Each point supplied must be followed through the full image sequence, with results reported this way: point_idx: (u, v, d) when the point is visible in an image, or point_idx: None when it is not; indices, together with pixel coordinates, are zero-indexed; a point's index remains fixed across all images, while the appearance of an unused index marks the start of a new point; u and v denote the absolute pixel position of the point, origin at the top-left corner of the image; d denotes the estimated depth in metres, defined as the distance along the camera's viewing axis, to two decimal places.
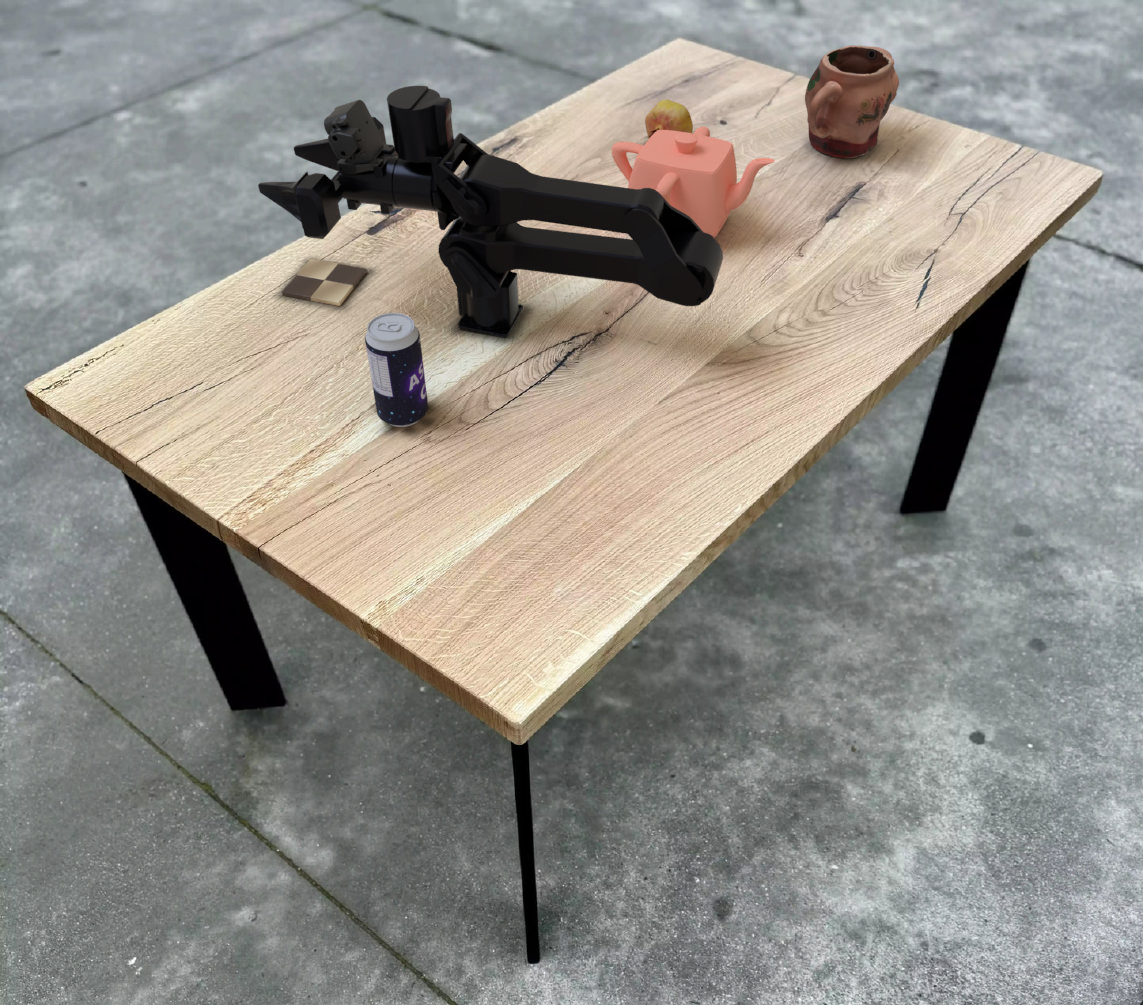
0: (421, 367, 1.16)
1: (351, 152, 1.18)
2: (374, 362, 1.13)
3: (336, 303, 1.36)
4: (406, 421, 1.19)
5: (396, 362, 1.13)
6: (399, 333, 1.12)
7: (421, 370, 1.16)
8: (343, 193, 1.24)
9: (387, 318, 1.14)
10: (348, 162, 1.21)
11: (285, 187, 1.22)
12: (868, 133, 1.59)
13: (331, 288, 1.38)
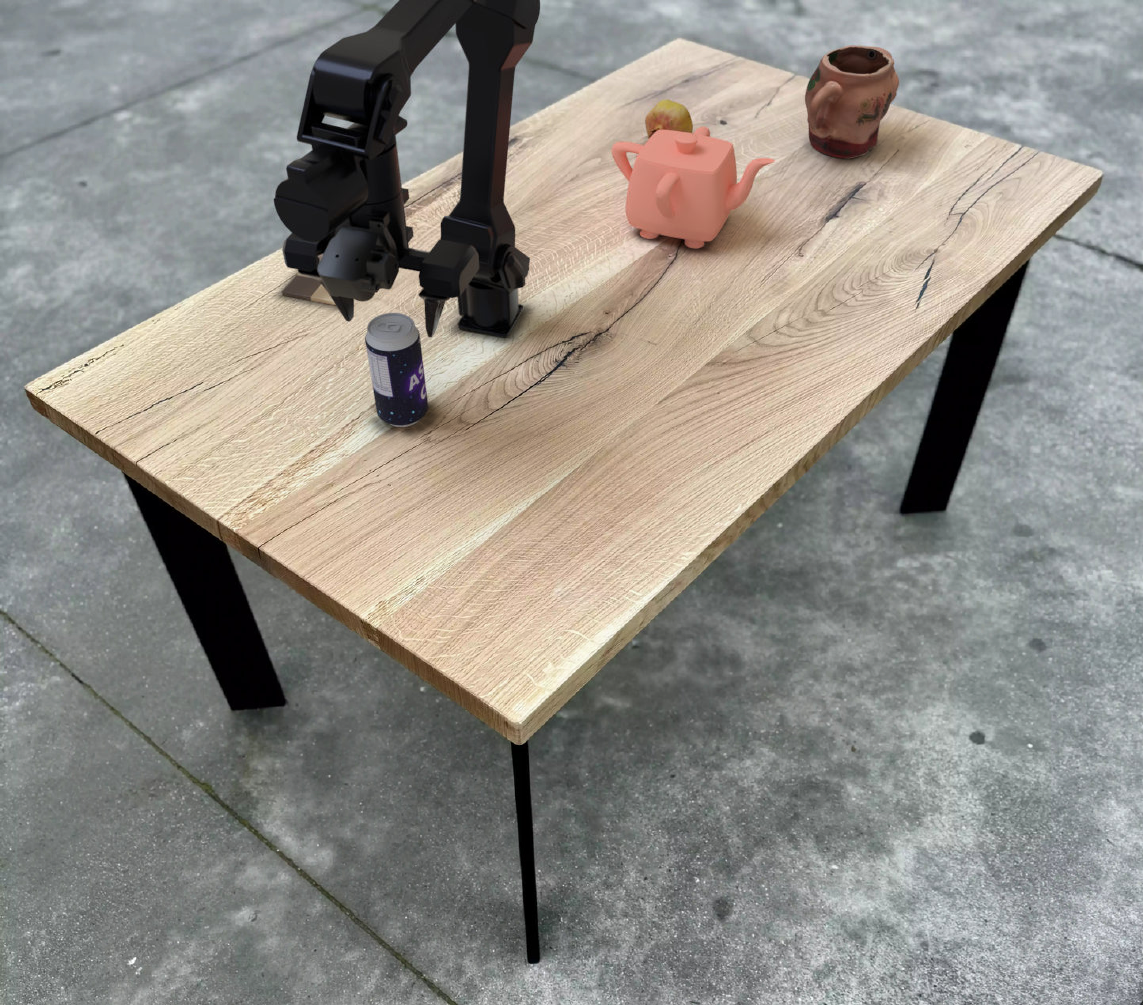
0: (421, 367, 1.16)
1: (393, 257, 1.00)
2: (374, 362, 1.13)
3: None
4: (406, 421, 1.19)
5: (396, 362, 1.13)
6: (399, 333, 1.12)
7: (421, 370, 1.16)
8: (408, 248, 1.06)
9: (387, 318, 1.14)
10: None
11: (436, 309, 1.08)
12: (868, 133, 1.59)
13: None
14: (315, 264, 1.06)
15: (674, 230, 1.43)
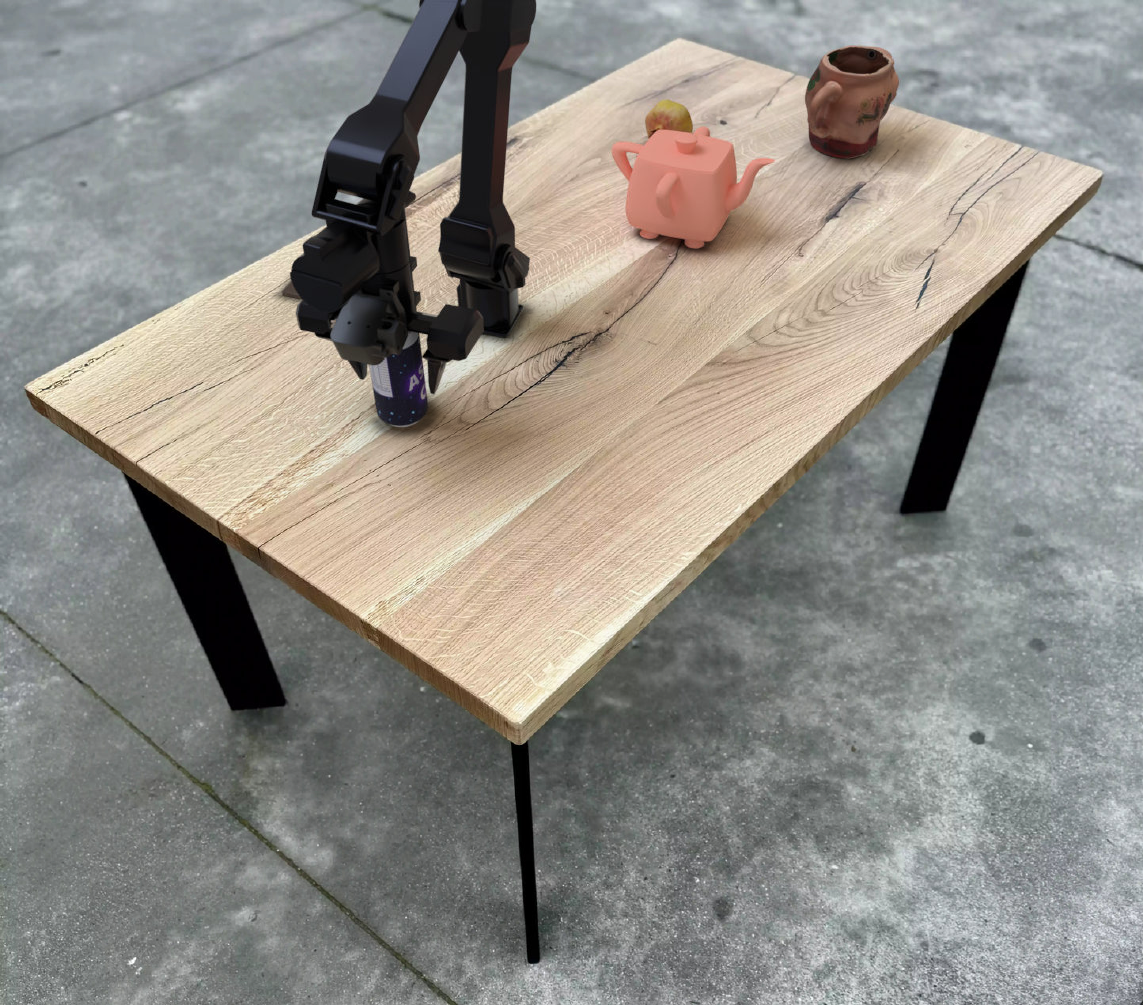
0: (421, 367, 1.16)
1: (402, 324, 1.05)
2: None
3: None
4: (406, 421, 1.19)
5: (396, 362, 1.13)
6: None
7: (421, 370, 1.16)
8: (416, 312, 1.11)
9: None
10: None
11: (438, 369, 1.13)
12: (868, 133, 1.59)
13: None
14: (327, 327, 1.11)
15: (674, 230, 1.43)
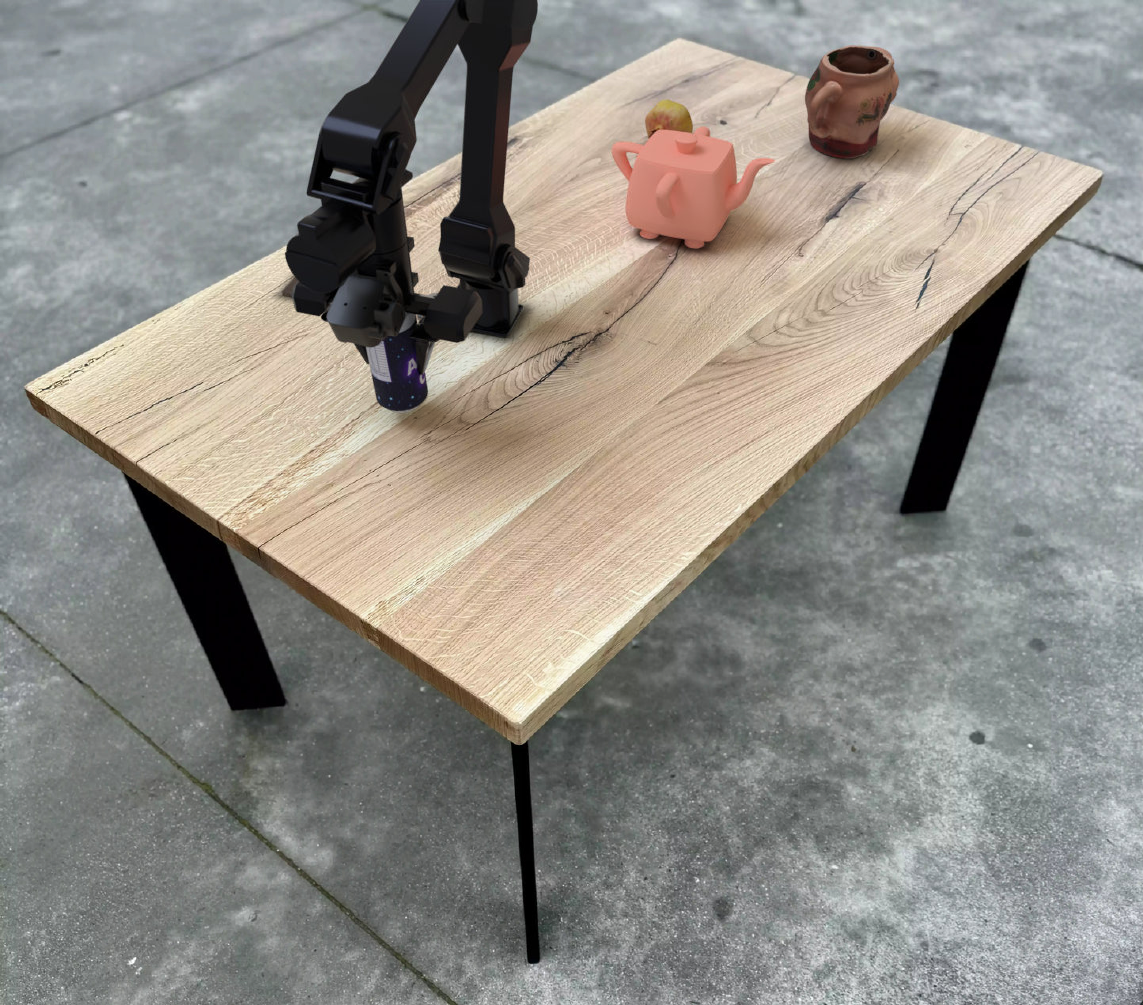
0: None
1: (400, 306, 1.04)
2: (371, 347, 1.12)
3: None
4: (406, 406, 1.17)
5: (394, 346, 1.11)
6: None
7: None
8: (413, 293, 1.10)
9: None
10: None
11: (426, 349, 1.12)
12: (868, 133, 1.59)
13: None
14: (324, 309, 1.10)
15: (674, 230, 1.43)
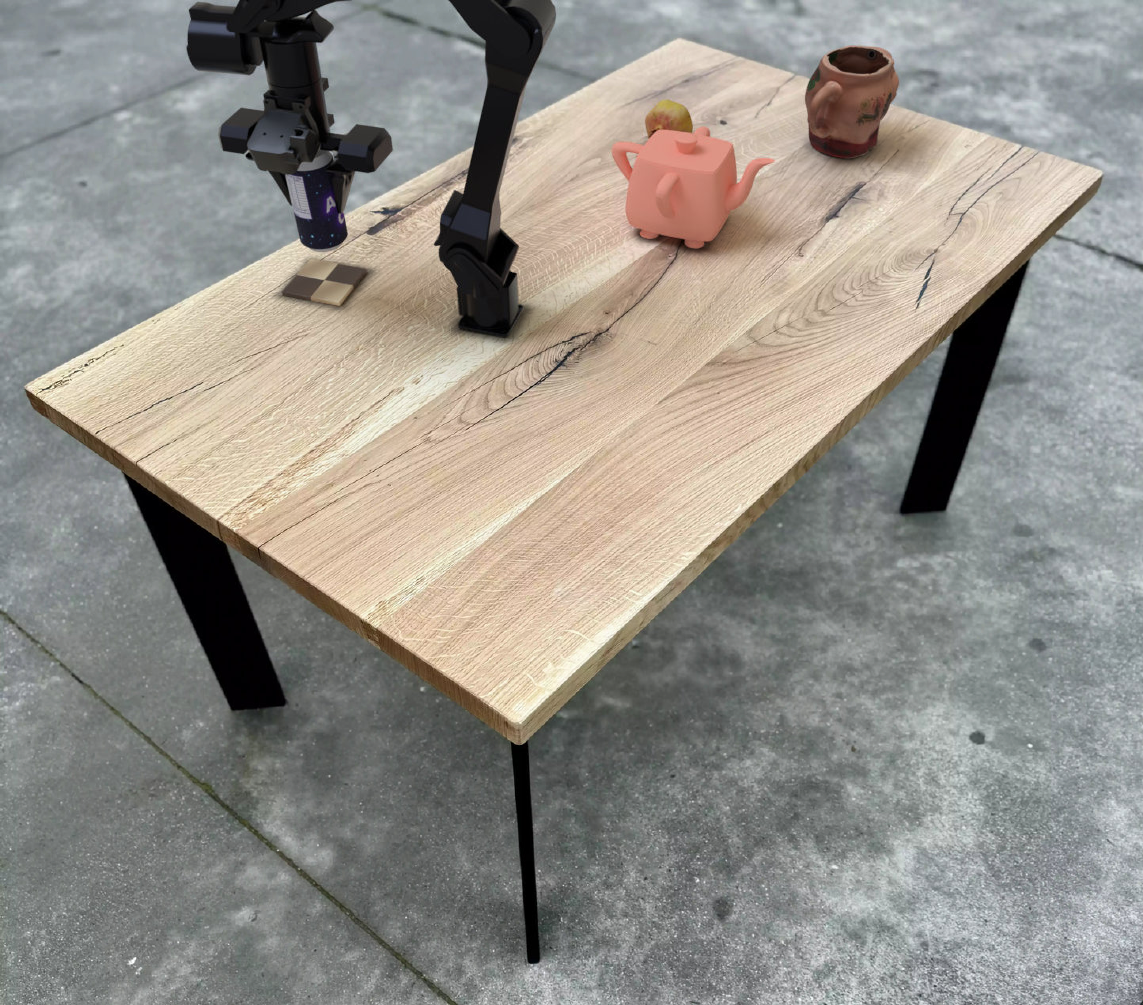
0: None
1: (313, 134, 1.15)
2: (292, 184, 1.23)
3: (336, 303, 1.36)
4: (326, 245, 1.28)
5: (312, 182, 1.22)
6: None
7: None
8: (329, 132, 1.21)
9: None
10: None
11: (342, 185, 1.23)
12: (868, 133, 1.59)
13: (331, 288, 1.38)
14: (247, 147, 1.21)
15: (674, 230, 1.43)
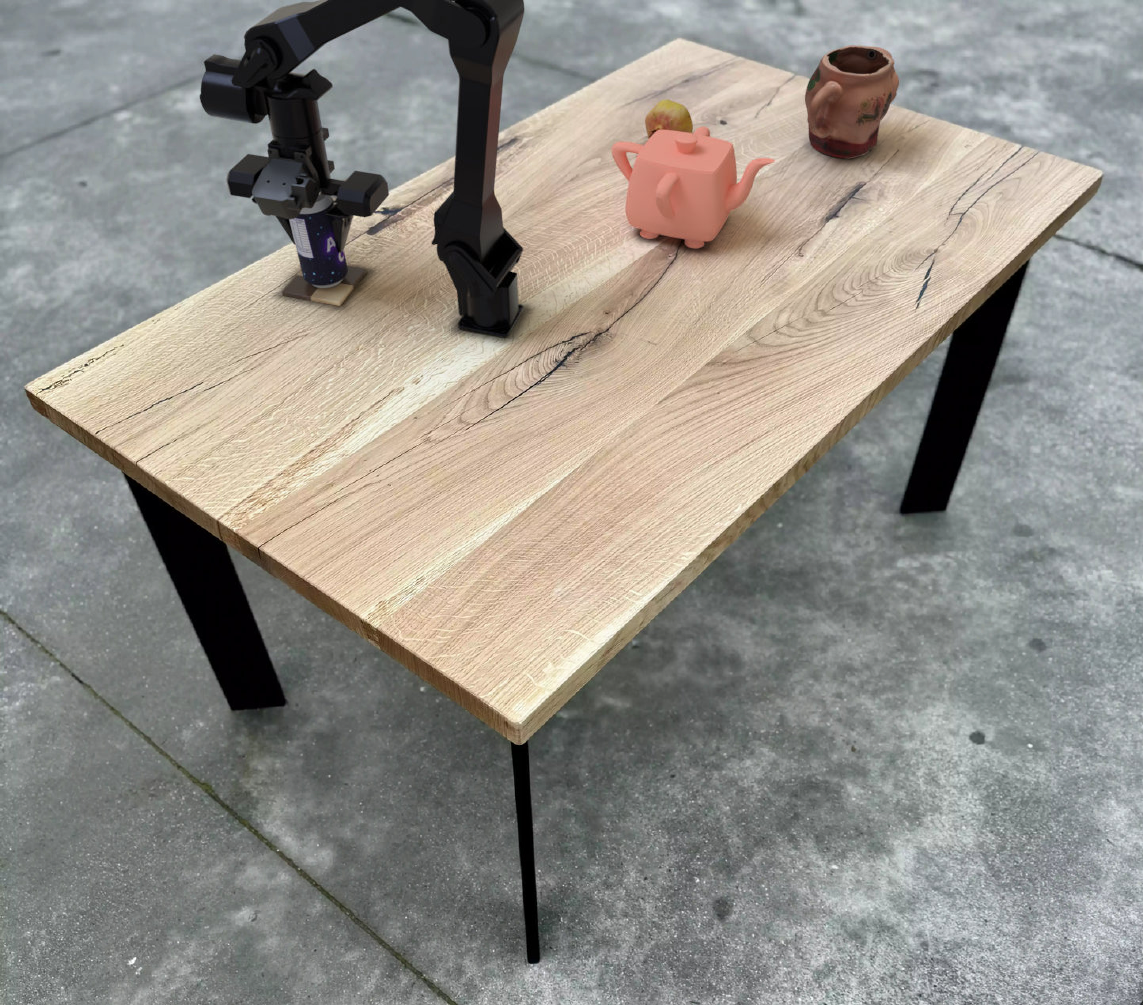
0: None
1: (313, 182, 1.23)
2: (295, 226, 1.31)
3: (336, 303, 1.36)
4: (327, 281, 1.36)
5: (313, 224, 1.31)
6: None
7: None
8: (329, 178, 1.29)
9: None
10: None
11: (341, 227, 1.31)
12: (868, 133, 1.59)
13: (331, 288, 1.38)
14: None
15: (674, 230, 1.43)
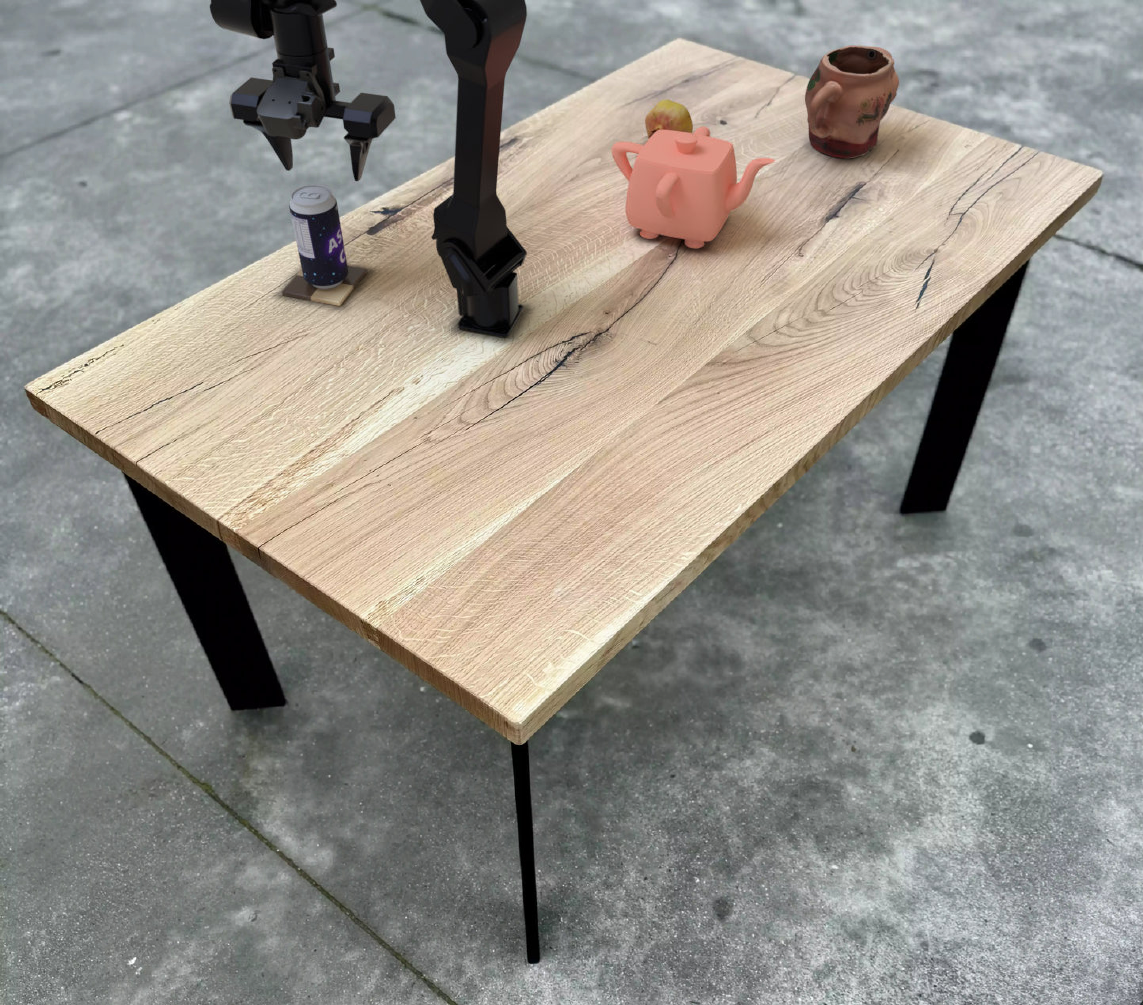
0: (339, 233, 1.34)
1: (319, 100, 1.20)
2: (297, 226, 1.32)
3: (336, 303, 1.36)
4: (328, 282, 1.37)
5: (316, 225, 1.31)
6: (318, 200, 1.31)
7: (339, 235, 1.34)
8: (334, 100, 1.27)
9: (309, 189, 1.32)
10: None
11: (359, 153, 1.28)
12: (868, 133, 1.59)
13: (331, 288, 1.38)
14: (257, 114, 1.27)
15: (674, 230, 1.43)
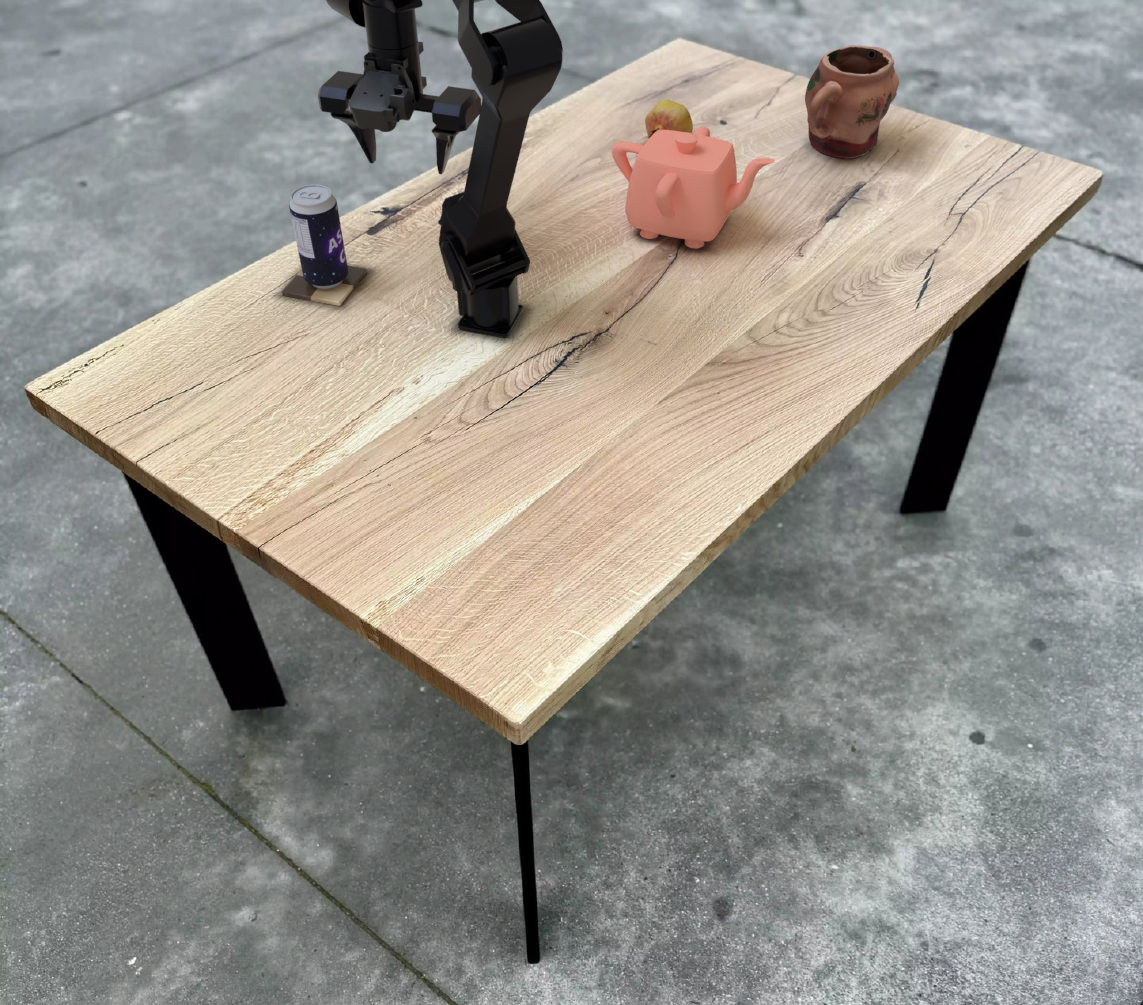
0: (339, 233, 1.34)
1: (411, 93, 1.22)
2: (297, 226, 1.32)
3: (336, 303, 1.36)
4: (328, 282, 1.37)
5: (316, 225, 1.31)
6: (318, 200, 1.31)
7: (339, 235, 1.34)
8: (422, 93, 1.28)
9: (309, 189, 1.32)
10: None
11: (445, 146, 1.30)
12: (868, 133, 1.59)
13: (331, 288, 1.38)
14: (345, 107, 1.28)
15: (674, 230, 1.43)
